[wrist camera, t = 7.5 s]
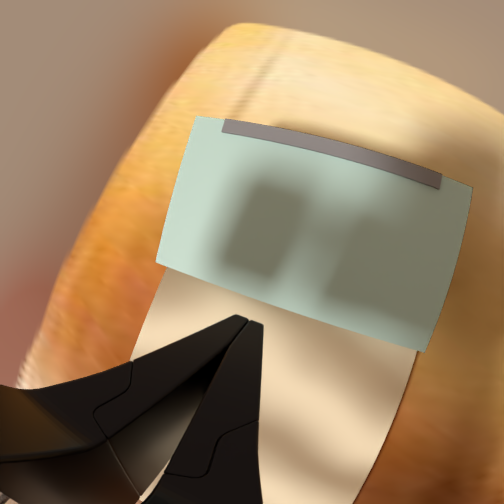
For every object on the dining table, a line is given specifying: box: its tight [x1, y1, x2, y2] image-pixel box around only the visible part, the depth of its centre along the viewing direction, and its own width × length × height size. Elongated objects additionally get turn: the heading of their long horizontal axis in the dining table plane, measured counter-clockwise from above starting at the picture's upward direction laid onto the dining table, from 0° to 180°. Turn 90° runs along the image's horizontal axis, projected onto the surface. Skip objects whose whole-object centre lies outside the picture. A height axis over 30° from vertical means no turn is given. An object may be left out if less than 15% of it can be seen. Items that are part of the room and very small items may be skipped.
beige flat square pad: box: [130, 267, 417, 504], centre depth 16 cm, size 16×16×2 cm
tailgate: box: [156, 116, 473, 353], centre depth 16 cm, size 2×16×9 cm
